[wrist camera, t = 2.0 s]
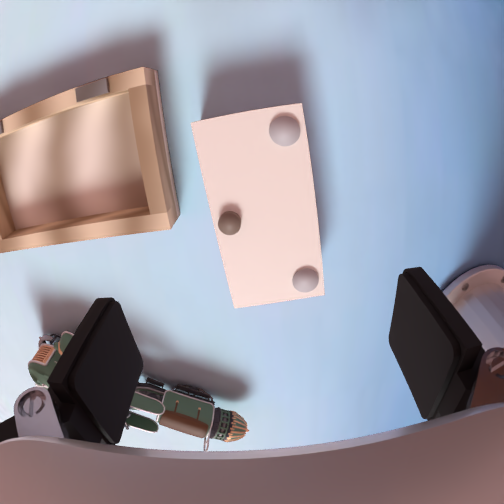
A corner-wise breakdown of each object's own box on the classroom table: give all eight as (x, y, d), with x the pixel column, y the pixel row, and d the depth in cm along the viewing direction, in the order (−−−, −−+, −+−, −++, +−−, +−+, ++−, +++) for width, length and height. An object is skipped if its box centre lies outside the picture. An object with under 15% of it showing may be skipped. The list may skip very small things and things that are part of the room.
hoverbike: (44, 304, 28) (4, 355, 21) (265, 384, 32) (267, 450, 25) (47, 361, 32) (19, 409, 25) (235, 427, 36) (232, 483, 28)
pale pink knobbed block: (201, 119, 21) (188, 123, 17) (293, 103, 20) (303, 103, 16) (237, 279, 27) (234, 312, 23) (315, 267, 26) (325, 298, 22)
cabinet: (157, 70, 19) (142, 66, 16) (180, 214, 24) (169, 230, 21) (-10, 131, 20) (-34, 138, 17) (16, 239, 25) (-4, 254, 22)
